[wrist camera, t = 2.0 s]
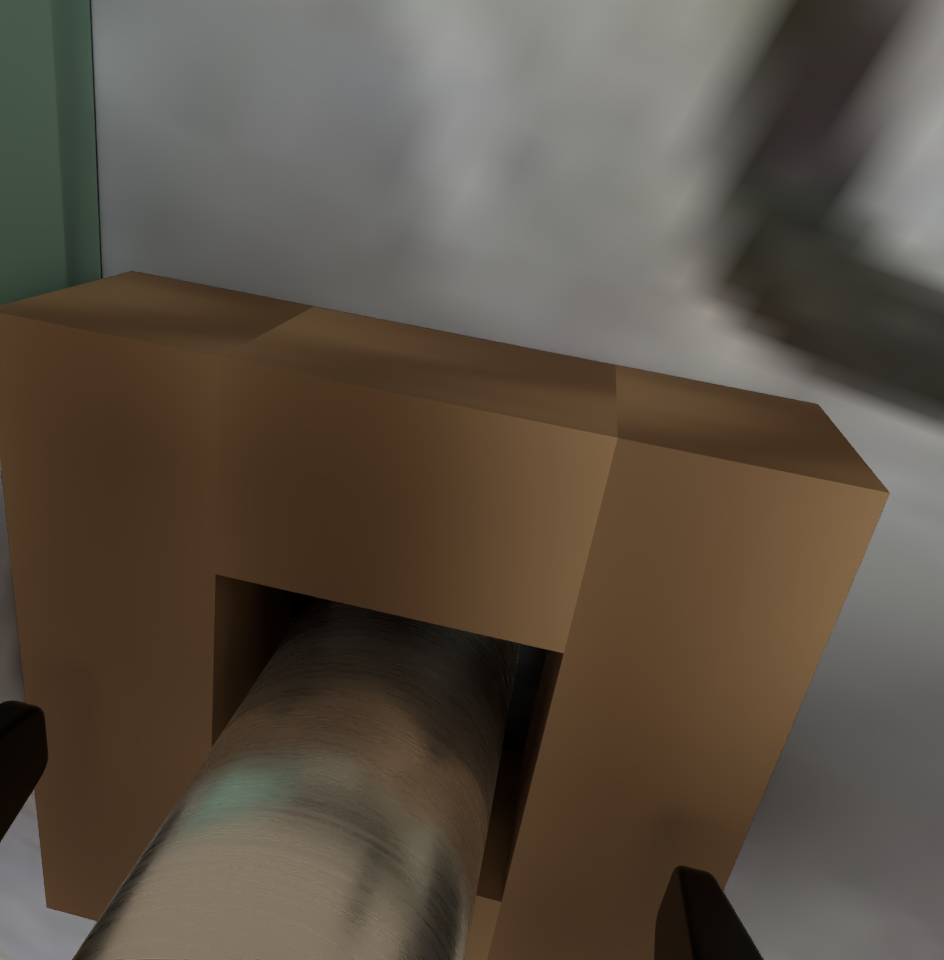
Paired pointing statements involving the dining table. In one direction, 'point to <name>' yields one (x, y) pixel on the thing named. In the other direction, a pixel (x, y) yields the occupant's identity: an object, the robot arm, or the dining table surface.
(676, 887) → the robot arm
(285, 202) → the dining table surface
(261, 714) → the steel pin
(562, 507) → the block
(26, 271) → the tray
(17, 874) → the dining table surface
